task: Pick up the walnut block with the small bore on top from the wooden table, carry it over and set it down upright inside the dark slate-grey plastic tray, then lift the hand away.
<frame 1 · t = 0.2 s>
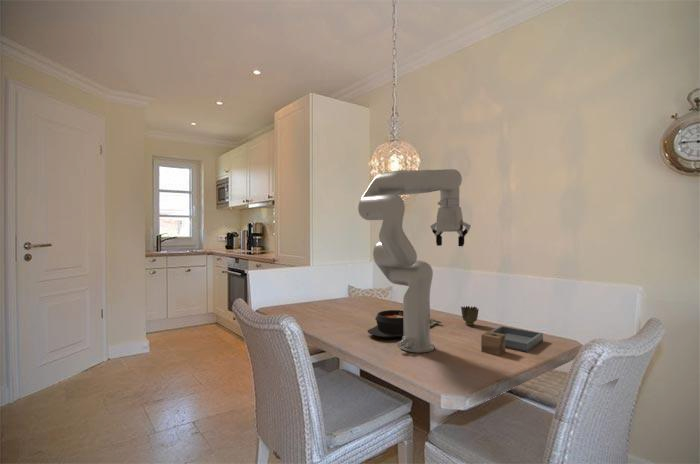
hand: (449, 245, 149), 36 cm above the table, tool pointing down, fingers open, 9 cm apart
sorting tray: (512, 341, 139), on the table
casserole: (395, 334, 150), on the table
walnut block: (493, 351, 128), on the table
salad plate: (415, 324, 168), on the table
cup: (469, 325, 164), on the table
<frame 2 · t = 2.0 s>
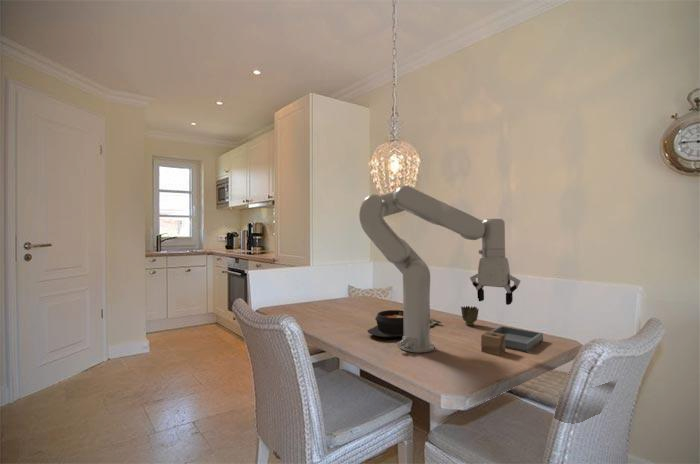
hand: (494, 302, 128), 17 cm above the table, tool pointing down, fingers open, 9 cm apart
nothing on the table moved.
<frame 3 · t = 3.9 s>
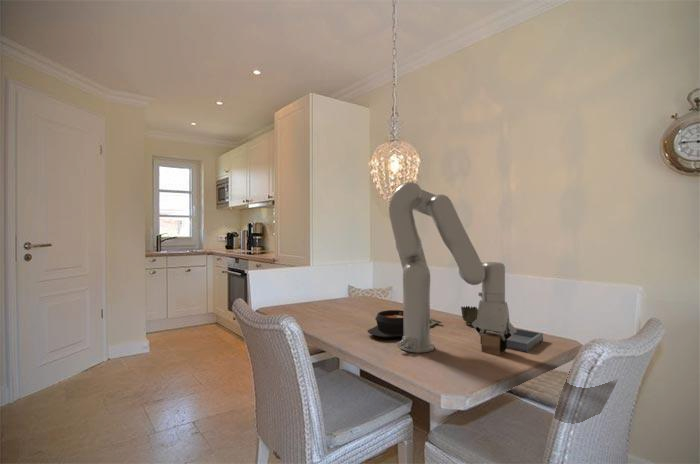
hand: (493, 348, 128), 1 cm above the table, tool pointing down, fingers closed on walnut block, 6 cm apart
walnut block: (493, 351, 128), on the table, touching gripper
everything else where it was.
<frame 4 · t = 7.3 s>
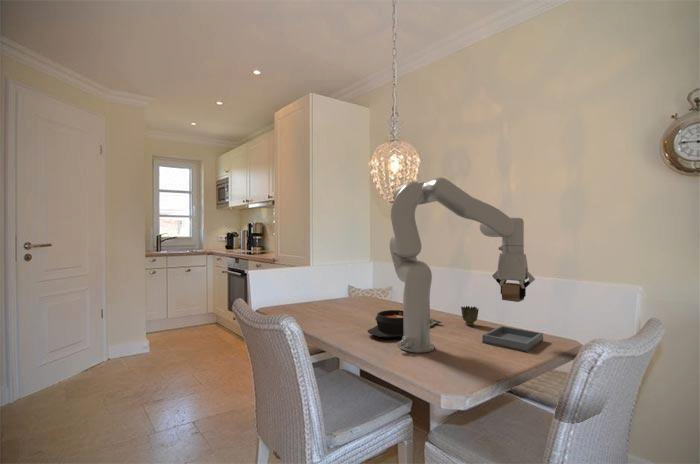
hand: (512, 296, 139), 17 cm above the table, tool pointing down, fingers closed on walnut block, 6 cm apart
walnut block: (512, 299, 139), point 16 cm above the table, touching gripper
everything else where it was.
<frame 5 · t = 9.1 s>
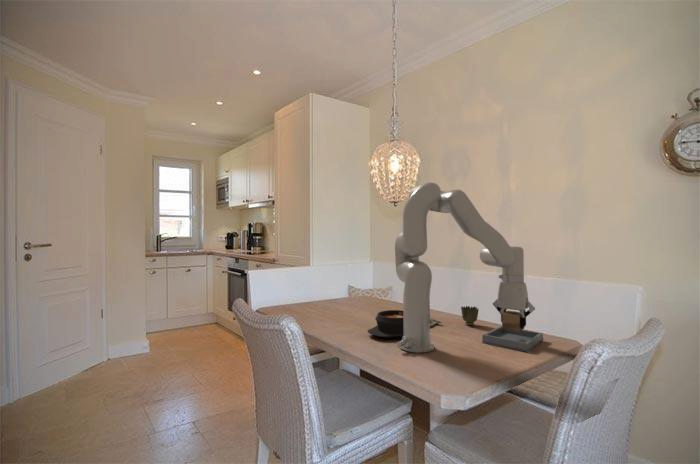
hand: (513, 325, 139), 6 cm above the table, tool pointing down, fingers closed on walnut block, 6 cm apart
walnut block: (513, 328, 139), point 5 cm above the table, touching gripper
everything else where it was.
when the fingers open (3 cm above the table, at t = 10.6 s): walnut block drops 2 cm, resting on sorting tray.
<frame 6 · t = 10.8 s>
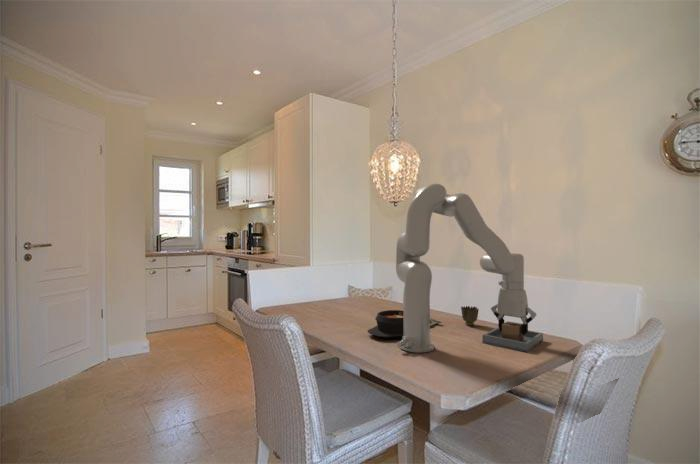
hand: (512, 331, 139), 4 cm above the table, tool pointing down, fingers open, 7 cm apart
walnut block: (512, 339, 139), point 1 cm above the table, touching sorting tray
everything else where it was.
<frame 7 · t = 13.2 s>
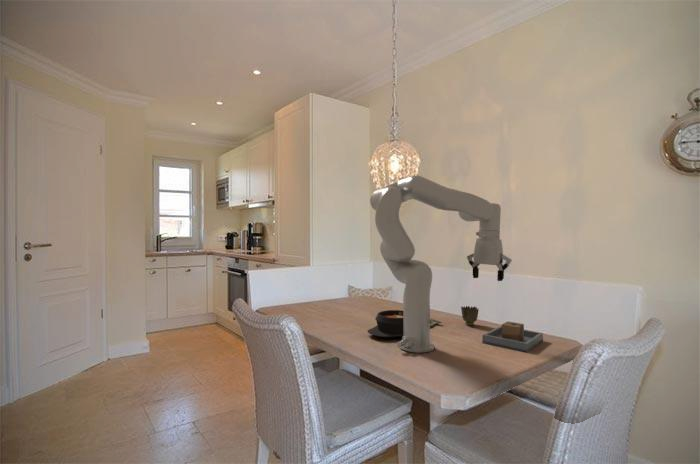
hand: (487, 279, 141), 24 cm above the table, tool pointing down, fingers open, 9 cm apart
nothing on the table moved.
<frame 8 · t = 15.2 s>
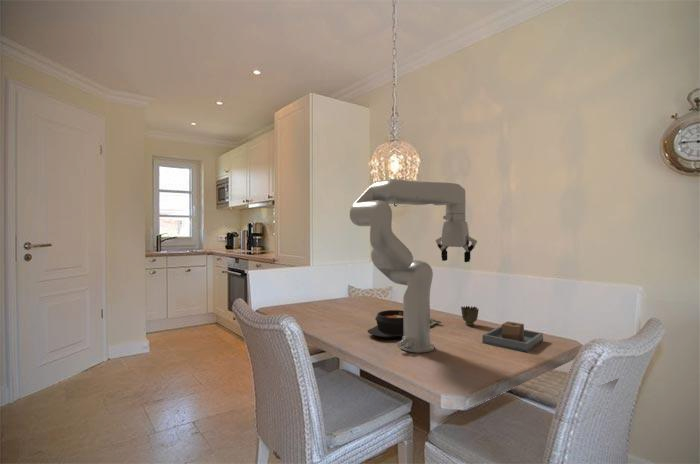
hand: (455, 261, 145), 30 cm above the table, tool pointing down, fingers open, 9 cm apart
nothing on the table moved.
at the end: walnut block inside the target area on the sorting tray (0.1 cm from its centre), point 0.8 cm above the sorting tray's base; walnut block tilted 0°; the gripper is holding nothing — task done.
